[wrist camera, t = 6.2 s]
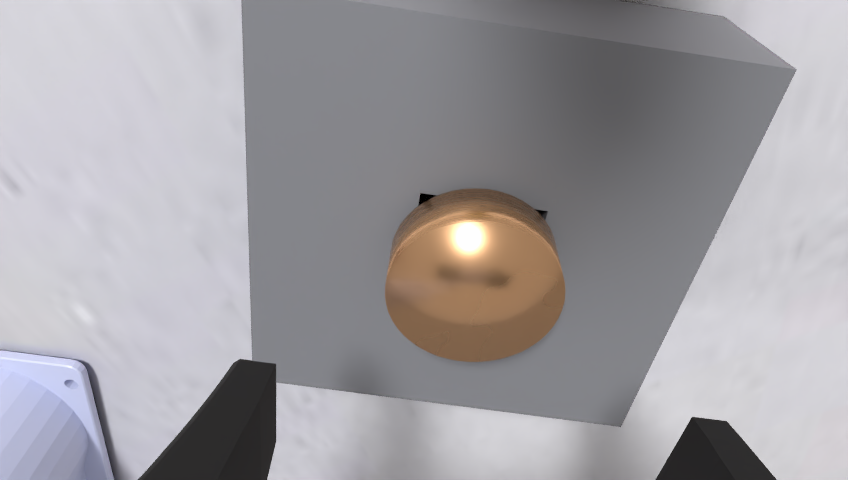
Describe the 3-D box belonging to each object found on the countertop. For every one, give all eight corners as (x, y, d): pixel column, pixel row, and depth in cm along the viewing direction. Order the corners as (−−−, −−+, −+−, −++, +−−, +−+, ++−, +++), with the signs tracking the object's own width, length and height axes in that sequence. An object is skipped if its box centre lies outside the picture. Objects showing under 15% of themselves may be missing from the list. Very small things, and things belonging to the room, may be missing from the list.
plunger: (521, 243, 19) (540, 372, 15) (395, 225, 19) (376, 350, 15) (553, 127, 17) (587, 236, 13) (411, 106, 17) (394, 209, 12)
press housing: (595, 334, 22) (620, 426, 18) (284, 292, 21) (253, 379, 18) (724, 17, 15) (796, 70, 12) (288, -52, 15) (240, -16, 12)
